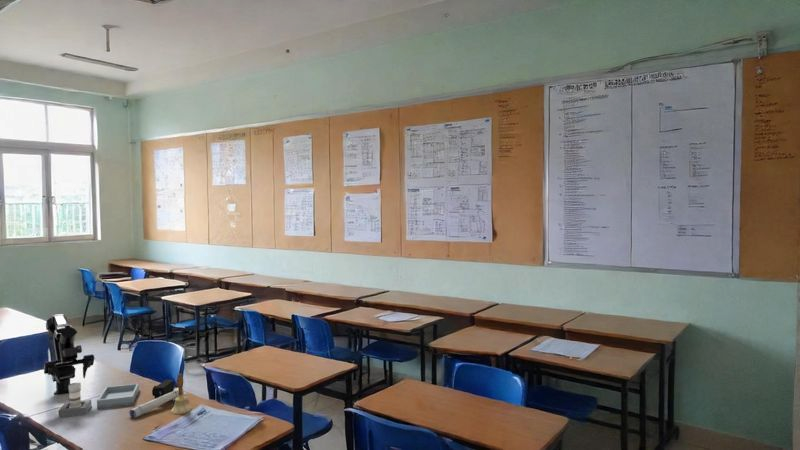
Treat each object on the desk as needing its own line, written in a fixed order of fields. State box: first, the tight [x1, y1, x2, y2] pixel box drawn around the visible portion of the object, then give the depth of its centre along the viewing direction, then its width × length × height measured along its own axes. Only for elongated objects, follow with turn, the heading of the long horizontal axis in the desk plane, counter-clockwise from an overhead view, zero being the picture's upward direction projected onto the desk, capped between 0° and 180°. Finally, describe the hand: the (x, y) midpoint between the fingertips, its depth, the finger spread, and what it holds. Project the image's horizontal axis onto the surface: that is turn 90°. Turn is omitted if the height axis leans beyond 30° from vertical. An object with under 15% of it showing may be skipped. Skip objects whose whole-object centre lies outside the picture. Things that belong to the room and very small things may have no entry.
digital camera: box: [151, 379, 175, 399], centre depth 236 cm, size 10×5×7 cm, turn 179°
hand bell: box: [170, 373, 192, 415], centre depth 222 cm, size 8×8×16 cm
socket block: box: [57, 399, 92, 419], centre depth 221 cm, size 10×10×3 cm
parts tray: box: [96, 383, 140, 409], centre depth 235 cm, size 18×14×4 cm
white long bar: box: [128, 387, 187, 419], centre depth 225 cm, size 5×7×25 cm
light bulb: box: [68, 382, 82, 408], centre depth 221 cm, size 4×4×12 cm
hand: (72, 380), depth 225 cm, fingers open, 9 cm apart
